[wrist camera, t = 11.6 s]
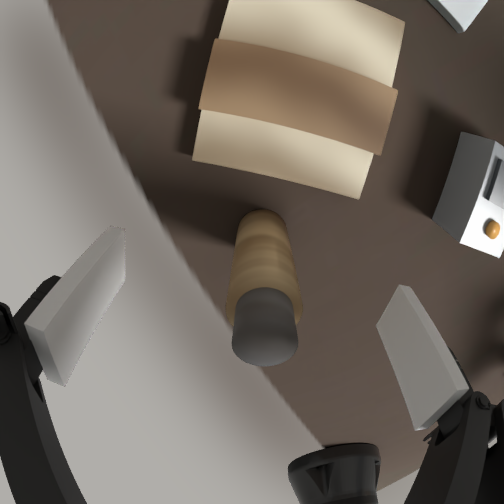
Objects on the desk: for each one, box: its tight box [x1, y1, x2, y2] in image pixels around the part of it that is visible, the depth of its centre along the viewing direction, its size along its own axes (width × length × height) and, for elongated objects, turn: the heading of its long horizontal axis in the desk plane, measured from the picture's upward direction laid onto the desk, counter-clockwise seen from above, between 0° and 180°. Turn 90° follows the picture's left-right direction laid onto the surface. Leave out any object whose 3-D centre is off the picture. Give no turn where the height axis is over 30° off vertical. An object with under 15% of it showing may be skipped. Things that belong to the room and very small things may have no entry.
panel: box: [192, 0, 405, 199], centre depth 14 cm, size 12×10×2 cm
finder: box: [432, 132, 504, 258], centre depth 15 cm, size 7×5×4 cm
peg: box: [226, 209, 303, 366], centre depth 15 cm, size 3×3×10 cm
